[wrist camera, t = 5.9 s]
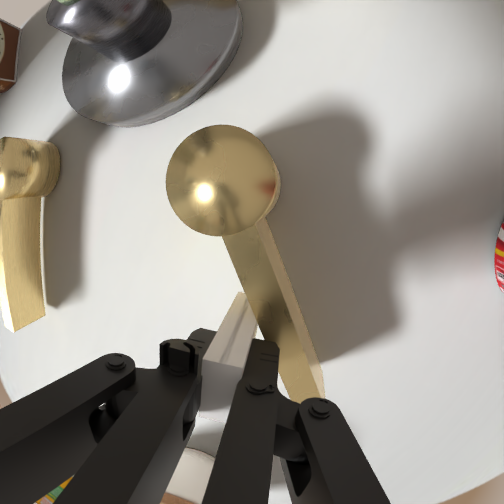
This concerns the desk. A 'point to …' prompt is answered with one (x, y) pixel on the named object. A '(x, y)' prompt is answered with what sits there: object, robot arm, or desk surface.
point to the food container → (8, 54)
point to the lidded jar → (189, 478)
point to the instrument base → (143, 55)
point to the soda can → (500, 258)
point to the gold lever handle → (246, 237)
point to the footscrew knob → (23, 225)
